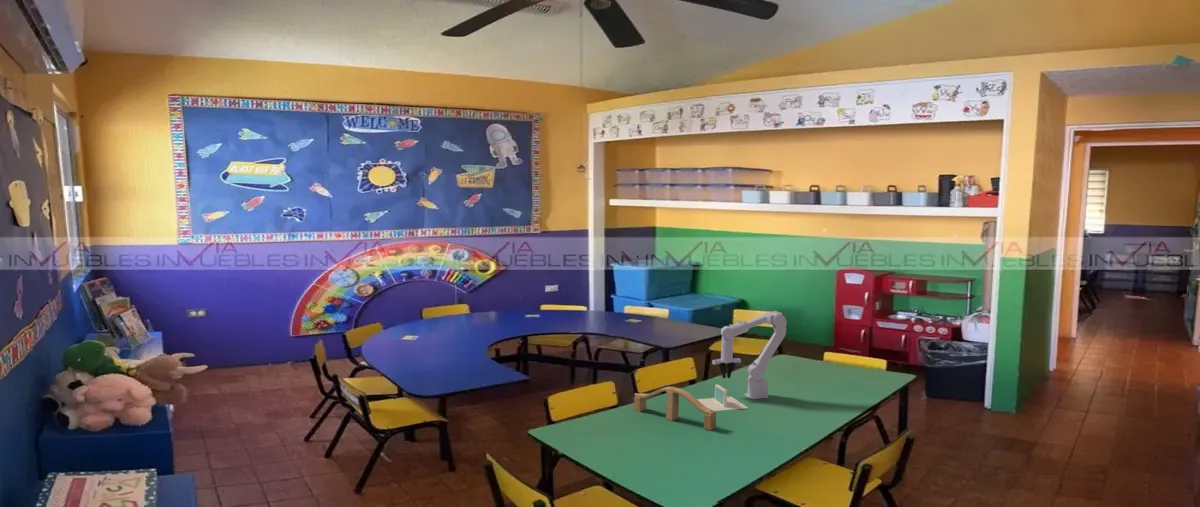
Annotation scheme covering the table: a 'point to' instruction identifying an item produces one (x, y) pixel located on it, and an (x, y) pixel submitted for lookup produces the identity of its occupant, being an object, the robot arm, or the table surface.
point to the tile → (721, 395)
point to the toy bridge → (677, 405)
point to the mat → (716, 406)
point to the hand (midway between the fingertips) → (726, 377)
